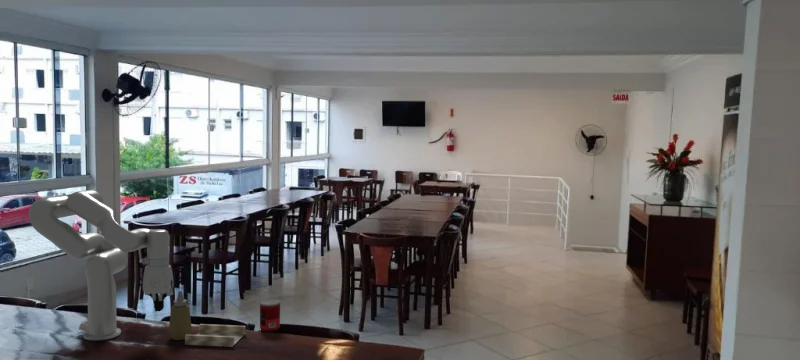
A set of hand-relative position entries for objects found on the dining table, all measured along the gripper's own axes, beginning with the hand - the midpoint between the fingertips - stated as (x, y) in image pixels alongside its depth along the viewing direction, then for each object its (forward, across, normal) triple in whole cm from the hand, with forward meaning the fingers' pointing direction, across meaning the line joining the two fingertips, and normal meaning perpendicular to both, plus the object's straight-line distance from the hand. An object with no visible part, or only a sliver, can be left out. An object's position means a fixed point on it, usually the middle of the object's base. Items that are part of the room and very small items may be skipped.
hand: (159, 310), depth 207 cm
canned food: (+11, +38, +15) cm, 42 cm away
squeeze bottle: (+11, +8, 0) cm, 13 cm away
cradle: (+11, +22, 0) cm, 25 cm away
